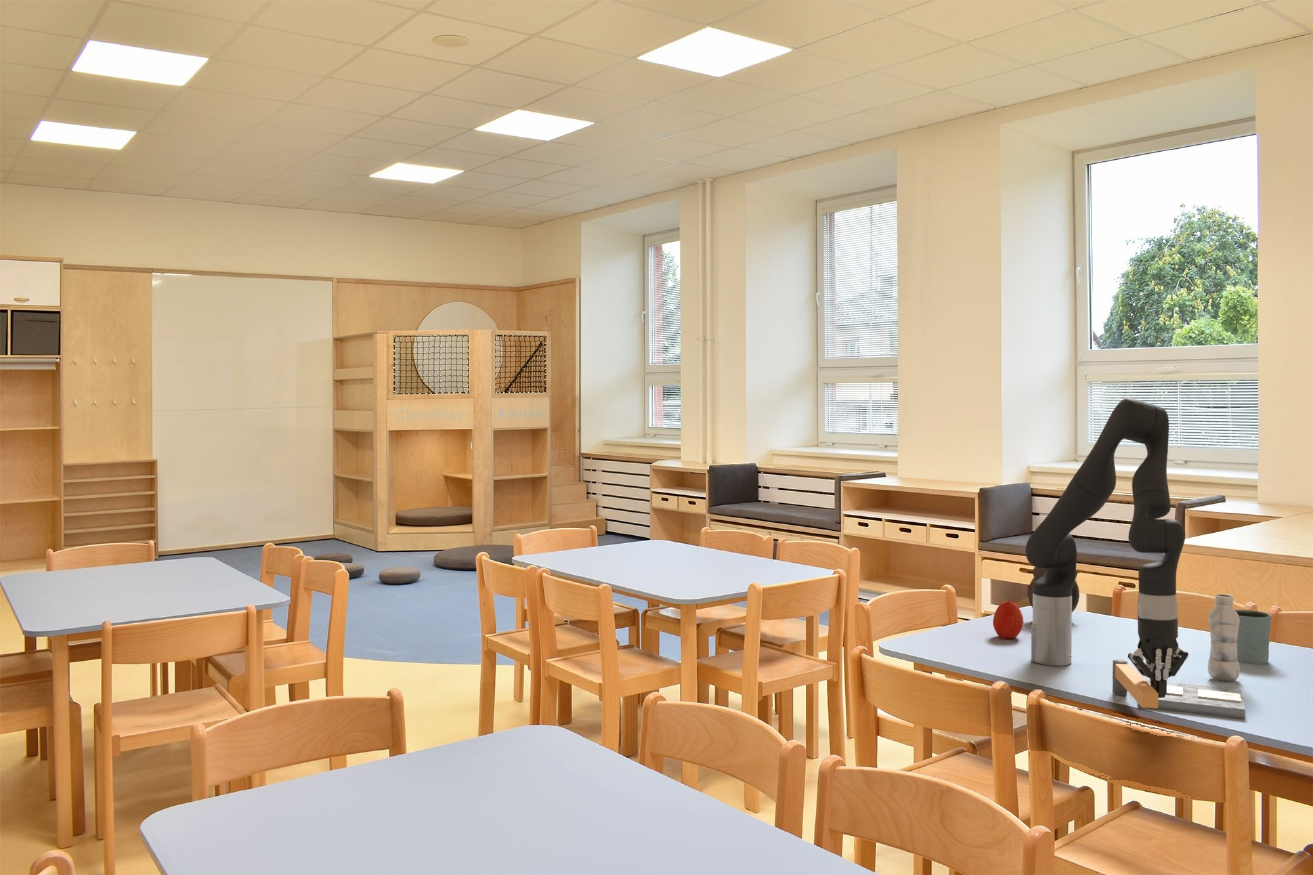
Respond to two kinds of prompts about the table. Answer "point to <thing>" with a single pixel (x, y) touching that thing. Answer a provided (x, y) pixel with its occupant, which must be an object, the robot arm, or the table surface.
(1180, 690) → the label board
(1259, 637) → the teal cup
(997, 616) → the apple
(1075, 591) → the alarm clock
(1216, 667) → the plastic bottle
